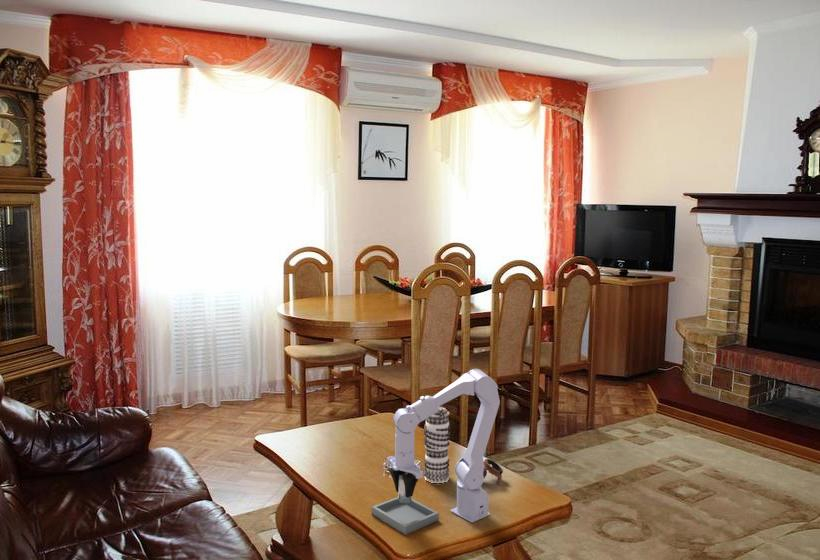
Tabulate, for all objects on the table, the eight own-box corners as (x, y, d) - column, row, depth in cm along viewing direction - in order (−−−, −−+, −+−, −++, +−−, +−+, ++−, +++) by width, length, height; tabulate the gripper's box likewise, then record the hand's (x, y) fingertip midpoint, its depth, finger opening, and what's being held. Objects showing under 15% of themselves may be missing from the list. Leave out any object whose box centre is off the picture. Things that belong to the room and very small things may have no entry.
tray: (438, 520, 202) (438, 512, 201) (405, 535, 193) (405, 526, 193) (404, 501, 214) (404, 494, 213) (371, 514, 205) (371, 506, 205)
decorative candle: (452, 474, 234) (453, 405, 231) (446, 486, 225) (447, 413, 222) (427, 471, 236) (427, 402, 233) (420, 482, 228) (420, 411, 224)
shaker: (414, 500, 201) (415, 474, 200) (405, 504, 198) (406, 478, 197) (404, 495, 204) (404, 470, 203) (395, 500, 201) (395, 474, 200)
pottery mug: (476, 474, 236) (488, 455, 235) (497, 492, 232) (509, 473, 230) (461, 477, 226) (474, 458, 225) (483, 496, 221) (496, 476, 220)
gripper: (378, 445, 202) (378, 488, 204) (410, 460, 191) (409, 506, 193) (397, 440, 206) (397, 482, 208) (428, 454, 195) (428, 499, 197)
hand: (404, 493), depth 201 cm, fingers closed on shaker, 4 cm apart
